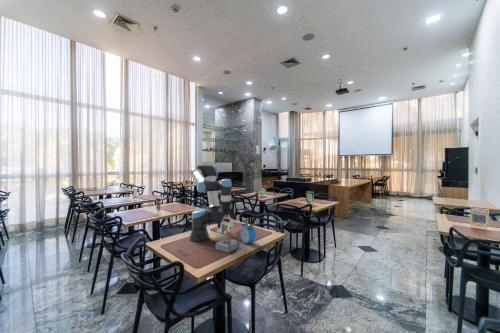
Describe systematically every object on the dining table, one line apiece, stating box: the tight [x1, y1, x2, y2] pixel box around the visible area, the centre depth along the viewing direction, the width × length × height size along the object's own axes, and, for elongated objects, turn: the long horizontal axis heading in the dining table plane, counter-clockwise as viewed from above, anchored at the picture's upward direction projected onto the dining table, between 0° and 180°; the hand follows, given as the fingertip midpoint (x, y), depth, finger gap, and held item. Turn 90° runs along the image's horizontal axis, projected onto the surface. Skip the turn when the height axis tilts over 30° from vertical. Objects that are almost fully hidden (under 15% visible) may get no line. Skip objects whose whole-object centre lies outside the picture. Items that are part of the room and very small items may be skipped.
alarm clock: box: [239, 221, 257, 245], centre depth 164 cm, size 13×6×15 cm, turn 41°
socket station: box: [214, 226, 243, 254], centre depth 153 cm, size 16×12×15 cm
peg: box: [223, 230, 228, 244], centre depth 155 cm, size 3×3×12 cm
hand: (225, 229), depth 155 cm, fingers open, 13 cm apart
